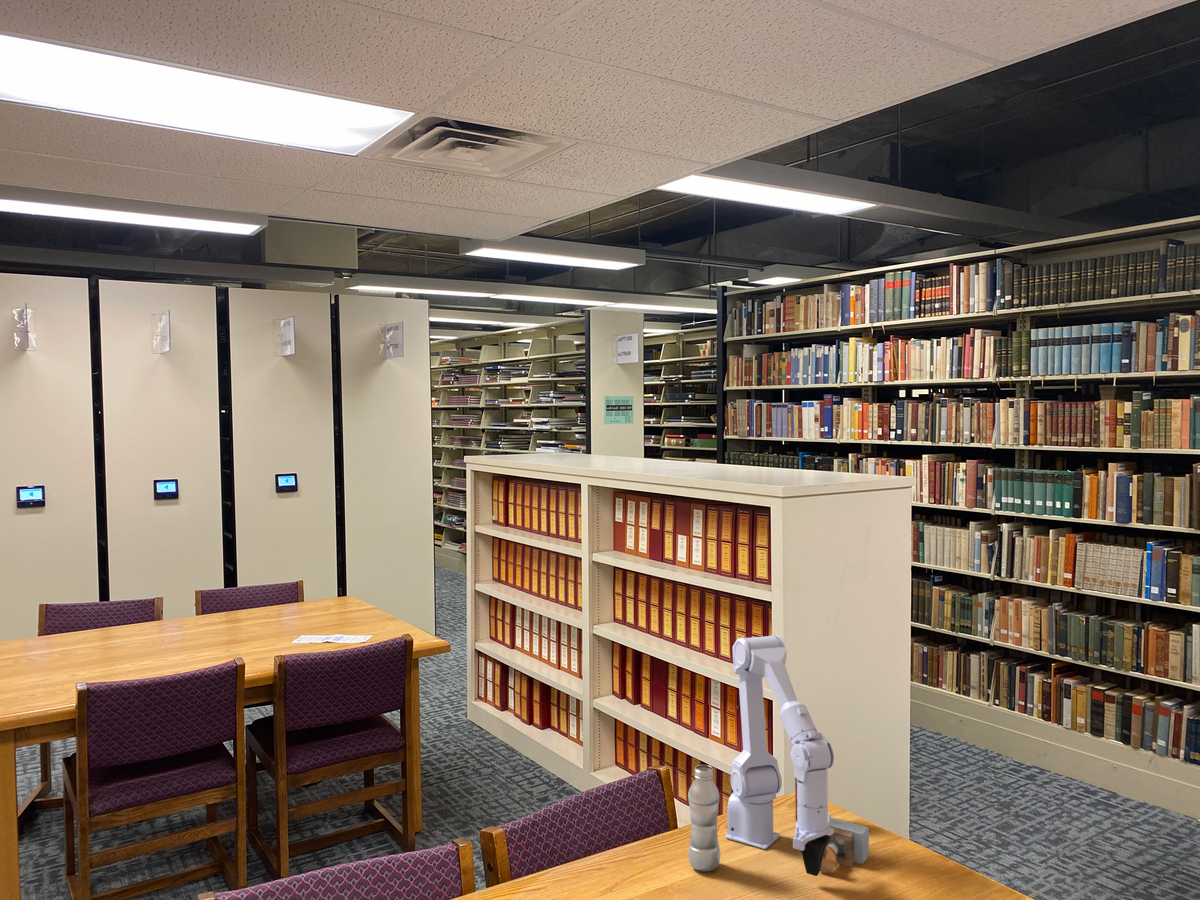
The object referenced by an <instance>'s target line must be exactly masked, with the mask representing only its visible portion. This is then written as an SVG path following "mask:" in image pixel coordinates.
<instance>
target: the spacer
mask: <svg viewBox="0 0 1200 900" xmlns="http://www.w3.org/2000/svg"><path fill="white" fill-rule="evenodd" d="M830 828H832V827H830ZM833 829H834V833H833V834H832V835H830V836H831V837H835V838H838V839H842V840H845V854H842V853H838V854H837V864H839V865H840V864H841V865H844V866H848V867H852V865H854V863H855V862H854V833H851V832H847V831H844V830H840V829H836V828H833ZM827 845H828V844H827Z"/></svg>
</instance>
